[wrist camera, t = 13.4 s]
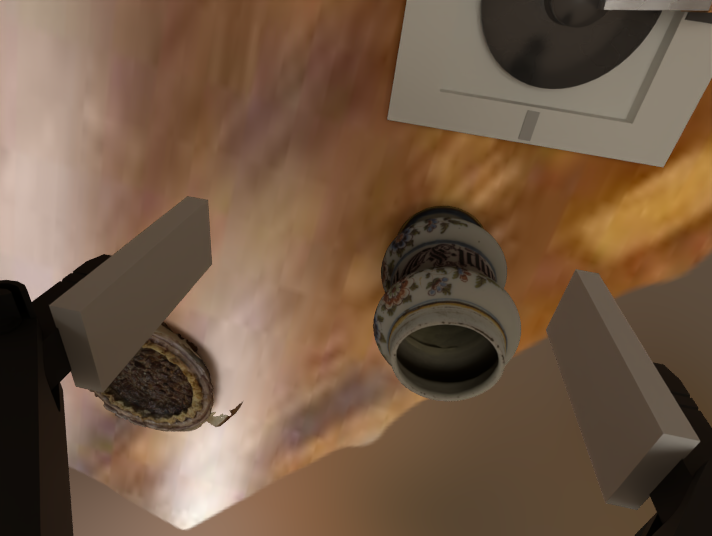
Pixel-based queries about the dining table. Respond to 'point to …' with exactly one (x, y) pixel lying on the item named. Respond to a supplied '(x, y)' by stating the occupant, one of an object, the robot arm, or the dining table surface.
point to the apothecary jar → (446, 306)
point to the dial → (570, 35)
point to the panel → (551, 106)
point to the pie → (164, 386)
